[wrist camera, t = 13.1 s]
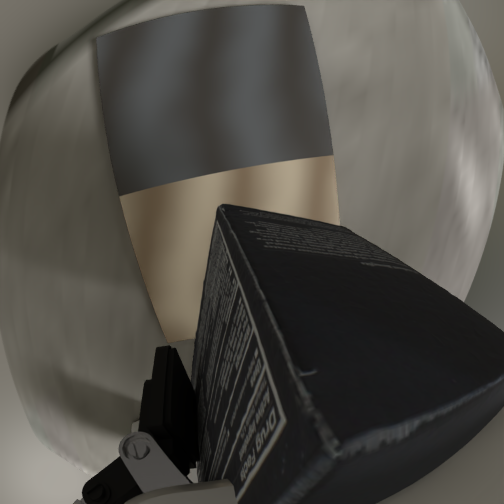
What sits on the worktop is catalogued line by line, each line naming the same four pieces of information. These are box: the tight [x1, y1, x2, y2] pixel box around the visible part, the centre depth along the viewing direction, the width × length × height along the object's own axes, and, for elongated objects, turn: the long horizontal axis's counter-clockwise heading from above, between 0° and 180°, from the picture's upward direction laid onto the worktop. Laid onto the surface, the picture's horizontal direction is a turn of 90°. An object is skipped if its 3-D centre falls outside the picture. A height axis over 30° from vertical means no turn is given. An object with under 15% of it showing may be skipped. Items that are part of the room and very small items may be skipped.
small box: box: [191, 204, 504, 504], centre depth 9 cm, size 11×6×10 cm, turn 168°
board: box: [97, 5, 340, 343], centre depth 19 cm, size 16×26×1 cm, turn 9°
